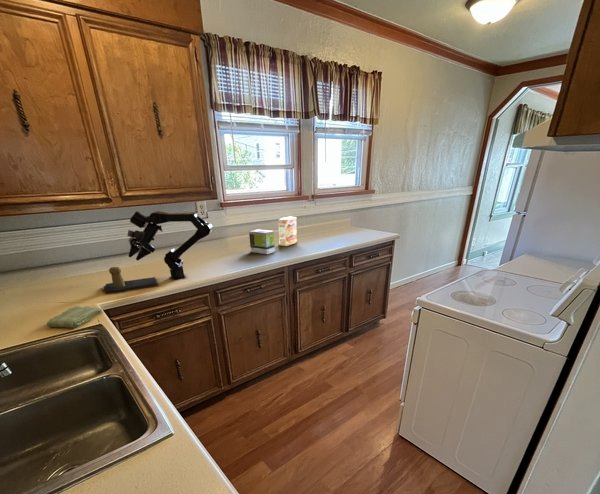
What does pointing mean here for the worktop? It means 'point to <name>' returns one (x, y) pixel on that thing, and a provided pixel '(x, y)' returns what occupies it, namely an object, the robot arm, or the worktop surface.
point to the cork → (116, 277)
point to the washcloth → (73, 317)
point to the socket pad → (131, 285)
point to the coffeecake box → (287, 231)
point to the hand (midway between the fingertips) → (132, 258)
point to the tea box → (262, 241)
